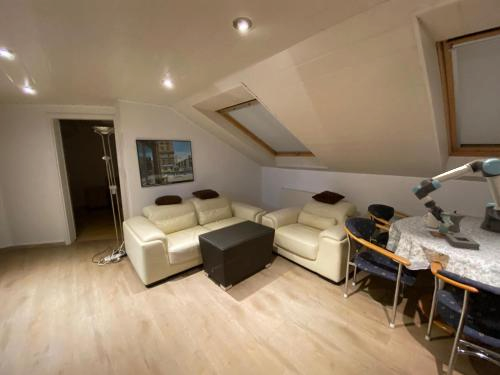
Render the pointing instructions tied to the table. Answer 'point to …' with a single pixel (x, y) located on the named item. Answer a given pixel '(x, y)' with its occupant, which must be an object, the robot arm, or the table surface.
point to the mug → (432, 221)
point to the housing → (462, 242)
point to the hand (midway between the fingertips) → (449, 225)
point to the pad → (439, 234)
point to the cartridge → (447, 218)
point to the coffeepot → (455, 222)
